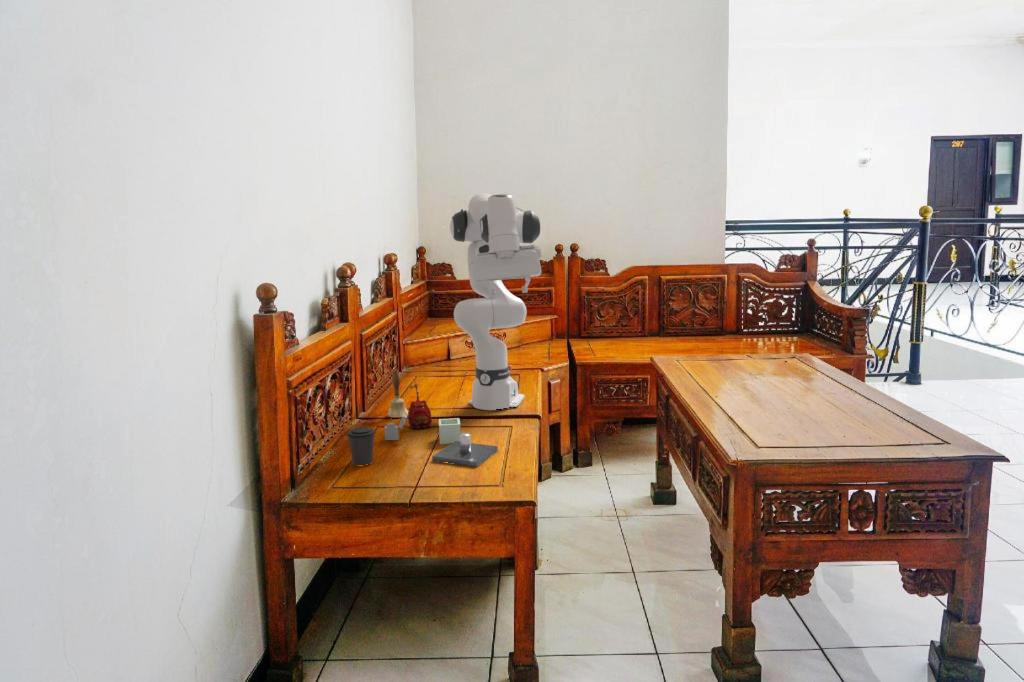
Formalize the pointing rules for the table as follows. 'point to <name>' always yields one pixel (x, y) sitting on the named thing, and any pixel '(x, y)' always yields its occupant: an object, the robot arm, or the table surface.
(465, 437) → the plate
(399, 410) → the hand bell
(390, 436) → the lighter
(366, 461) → the coffee cup
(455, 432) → the sleeve
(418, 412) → the red clay folk toy
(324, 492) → the table surface
